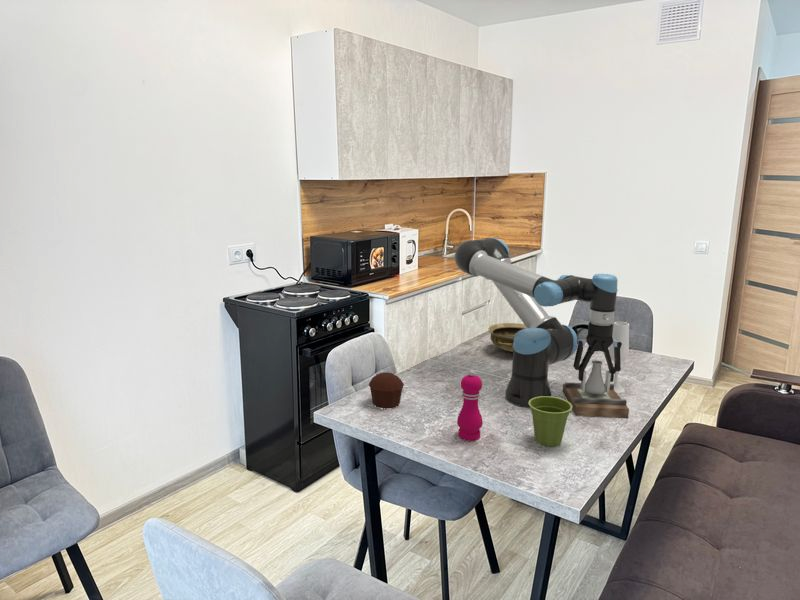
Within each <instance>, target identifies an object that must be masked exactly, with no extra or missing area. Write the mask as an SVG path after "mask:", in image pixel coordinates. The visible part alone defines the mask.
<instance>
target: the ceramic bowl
mask: <svg viewBox="0 0 800 600" xmlns="http://www.w3.org/2000/svg"><path fill="white" fill-rule="evenodd" d="M526 328H527V327H526V326H525V324H524V323H515V322H502V323H501V322H500V323H494V324H492V325H490V326H489V327H488V331H489V333H490V340H491V342H492V343H493V344H494V345H495V346H496V347H497V348H499V349H502V350H503V351H505V353H506V352H507V353H506V354H508V353H509V354H508V355H511V354H512V355H511V356H513V342H514V337H515V334H516V333H517V332H518V331H520V330H522V329H526Z"/></svg>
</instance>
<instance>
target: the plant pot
mask: <svg viewBox="0 0 800 600" xmlns="http://www.w3.org/2000/svg"><path fill="white" fill-rule="evenodd" d="M529 406H530V407H531V408H530V412H531V415H532V423H533V433H534V439H535V442H537V443H538V444H539V445H543V446H546V447H557V446H559V445H561V443H562V441H563V436H564V432H565V429H566V424H567V420H568V418H569V416H570V411H573V410H572V404H571V403H570V402H568V401H567V399H564V398H561V397H558V396H557V397H556V396H552V397H551V396H540V397H535V398H532V399H531V400H529Z"/></svg>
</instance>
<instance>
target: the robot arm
mask: <svg viewBox="0 0 800 600" xmlns="http://www.w3.org/2000/svg"><path fill="white" fill-rule="evenodd" d="M454 262H455V265H456V266H457V268H458V269H459V270H460V271H462V272H464V273H466V274H467V275H470V276H472V277H483V278H484V279H485V280H487V281H492V283H493V284H494V285H495V287H496V289H498V290H499V292H500V293H501V295H502V296H503V298H504V299H505V300H506V302H507V303H508V305H510V307H511V308H512V309H513V311H514V312H515V314H516V315H517V316H518V318H519V319H520V321H521V322H522V324H525V326H526V327H527V328H526V329H522V330H520V331H518V332H517V333H516V334H515V337H514V342H513V355H512V364H511V377H510V379H509V381H508V384H507V386H506V388H505V393H504V398H505V400H506V401H507V402H509V403H510V404H512V405H515V406H517V407H522V408H528V409H529V408H530V409H531V407H530V406H529V400H531V399H532V398H535V397H540V396H551V397H553V396H552V390H551V388H550V384H549V380H548V376H549V366H550V365H553V364H556V363H559V362H562V361H566V360H567V359H568V358H571V357H572V356H573V355H574V354H575V356H574V360H573V368H574V369H575V370H576V371H578V377H577V378H578V380H579V381H580V383H581V386H580V389H581V390H582V391H585V383H586V381H587V371H586V368H587V366H588V364H589V362H590V360H591V359H592V357H593V355H594V354H595V352H602V353H603V354H604V358H605V361H606V365H607V367H608V370H606V371H605V381H604V384H605V389H606V392H609V389H610V384H611V383H614V375H615V372H617V371H618V372H621V367H622V366H621V364H622V363H621V362H620V348H621V345H622V343H621V342H620V341H619V340H613V338H612V335H613V327H614V323H615V313H616V302H617V294H618V291H619V290H618V281H619V280H618V278H617V276H616V275H614V274H608V273H595V274H594V275H592V278H586V277H581V276H576V275H572V274H570V275H568V274H563V275H561V276H559V278H557V279H551V278H549V277H546V276H543V275H541V274H539V273H535V272H534V271H530V270H529V269H528V270H527V269H525V268H522V267H520V266H517V265H514V264H512V259H511V256H510V249H509V246H508V245H507V243H506V242H504V241H503V240H502V239H500V238H496V237H495V238H493V237H485V238H484V239H469V240H466V241H463V242H462V243H461V244H459V245H458V247H457V248H456V250H455V252H454ZM572 301H580V302H585V303H589V317H588V321H589V322H588V326H587V327H588V328H587V335H586V337H585V338H582V339H581V338H578V336H577V333H576V331H575V330H574V329H573V328H572V327H571V326H569V325H566V324H561V322H560V321H559V320H558V319H557V317H556V316H553V315H552V316H551V315H549V314H548V313H547V311H546V310H545V309H544V308H543V307H547V308H548V307H554V306H558V305H560V304H564V303H569V302H572ZM612 343H613V346H614V361H613V360H612V359H611V357H610V353H609V347H610V346H611V344H612ZM586 344H587V345H588V348H587V349H586V352H585V355H584V356H583V358H582V355H583V351H584V347H585V345H586ZM613 362H614V365H613Z"/></svg>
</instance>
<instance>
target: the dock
mask: <svg viewBox="0 0 800 600" xmlns="http://www.w3.org/2000/svg"><path fill="white" fill-rule="evenodd" d="M613 384H614V383H610V389H609V392H606V393H604V394H592V393H588V392H585V391H582V390H581V389H580V386H581V382H568V381H567V382H564V383H562V391H561V392H562V393H563V396H564V398H565V400H566V401H568V402H570V403H571V404H572V410H571V411H573V414H574V415H575V416H576V417H594V418H598V417H599V418H617V419H618V418H621V419H629V413H630V408H629V406H628V405H627V403H628V401H627V399H626V398H625V399H624V398H623V399H622V398H621V397H620V396H619V393H616V392H615V391H614V385H613ZM604 386H605V383H604Z"/></svg>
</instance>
